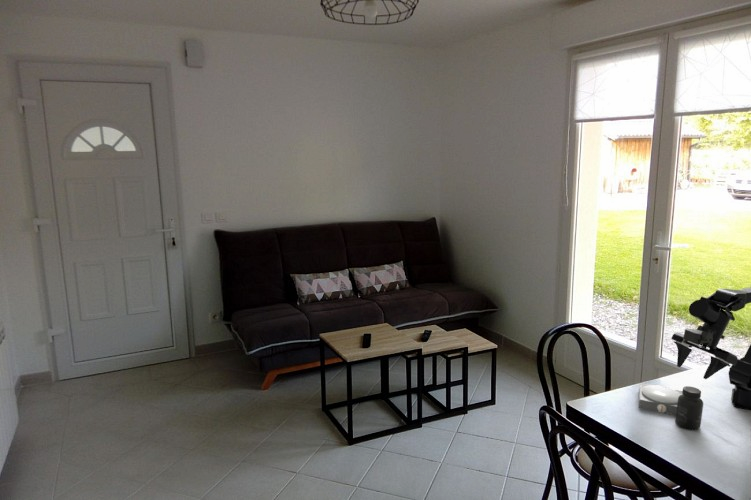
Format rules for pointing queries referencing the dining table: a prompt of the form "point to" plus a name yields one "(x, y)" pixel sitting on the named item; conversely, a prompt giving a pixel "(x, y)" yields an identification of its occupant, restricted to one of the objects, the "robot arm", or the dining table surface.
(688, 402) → the supplement bottle
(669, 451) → the dining table surface
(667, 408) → the kitchen scale
